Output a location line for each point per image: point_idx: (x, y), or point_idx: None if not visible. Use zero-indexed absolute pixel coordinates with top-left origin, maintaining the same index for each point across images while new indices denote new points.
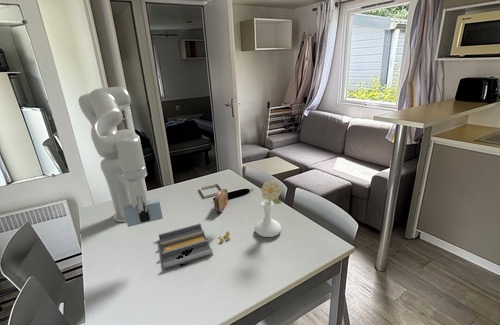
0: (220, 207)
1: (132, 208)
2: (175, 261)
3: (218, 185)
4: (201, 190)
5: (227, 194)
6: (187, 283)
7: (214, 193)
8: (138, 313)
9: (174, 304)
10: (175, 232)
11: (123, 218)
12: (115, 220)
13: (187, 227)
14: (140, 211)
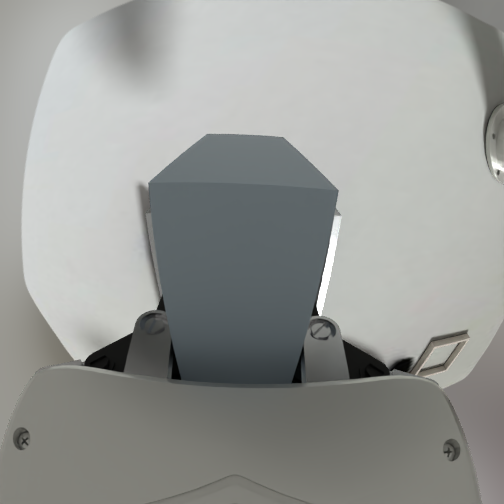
0: None
1: (169, 310)
2: (151, 248)
3: (441, 369)
4: (456, 342)
5: None
6: (92, 253)
7: (421, 365)
8: (41, 141)
9: (47, 218)
10: (323, 267)
11: (499, 128)
12: (501, 105)
13: (318, 306)
14: (98, 354)
